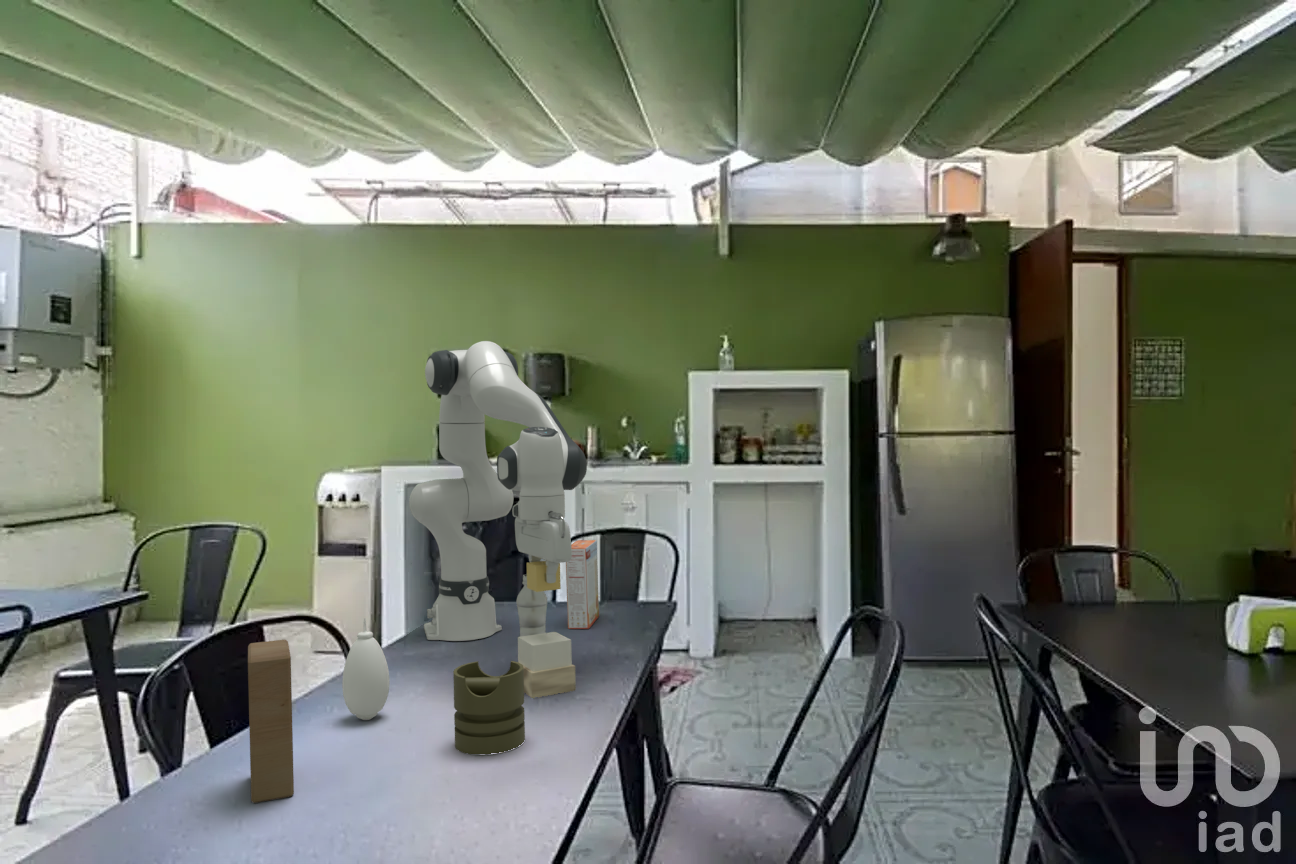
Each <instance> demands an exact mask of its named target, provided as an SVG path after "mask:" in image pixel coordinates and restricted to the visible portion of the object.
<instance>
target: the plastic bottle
mask: <svg viewBox="0 0 1296 864" xmlns="http://www.w3.org/2000/svg"><path fill="white" fill-rule="evenodd" d="M521 583H522V585H523V587H522V588H521V590H520V591H519V592H518V595H517V597H516V602H515V603H516V609H517V613H518V615H517V616H518V619H519V620H518V621H519V637H521V636H528V635H535V634H542V633H547V631H546V622H547V620H546V619H547V618H546V617H547V607H548V597H547V594H546V593H545V591H540V592H536V591H533V590H531V589H529V588H527V573H526V574H522V582H521Z"/></svg>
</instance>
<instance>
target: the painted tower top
mask: <svg viewBox="0 0 1296 864" xmlns="http://www.w3.org/2000/svg"><path fill="white" fill-rule="evenodd" d="M517 660H518V661H517V662H519V663H521V664H522V665H524V666H525V667H527V668H528V669H530V670H531V671H533V672H535V671H541V670H547V669H553V668H559V667H565V666H571V665H573V664H572V663H573V662H572V660H573V657H572V639H570V638H568V637H566V636H564V635H562V634H560V633H559V632H557V631H551V632H546V633H542V634H535V635H528V636H521V637H520V636H517Z"/></svg>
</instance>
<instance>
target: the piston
mask: <svg viewBox="0 0 1296 864" xmlns="http://www.w3.org/2000/svg"><path fill="white" fill-rule="evenodd" d="M509 666H510V667H509V669H508V670H507V672H505V673H504V674H500V675H498V676H497V675H495V676H494V675H490V674H488V673H487V672H484V671H483V670H482V669H481V667H480V664H479V661H472V662H468V663H467V662H466V663H465V664H464V663H463V664H461V665H458V666H457V667H455V668H454V670H453V674H452V675H453V678H452V679H453V709H455V710H456V711H455V712H454V715H453V716H454V719H453V722H454V747H455V749H456V750H457V751H458V750H459V751H458V752H460V751H461V752H460V753H463V754H466V753H468V754H467V755H471V754H491V753H499V752H504V751H508V750H511V749H513V748H516V747H518V746H519V745H521V744H522V743H523V742H524V740H525V741H526V727H525V723H526V722H525V716H526V715H525V707H524V706H523V705H524V703H525V693H524V668H523V665H522V664H521V663H518V661H514V660H510V665H509ZM524 743H525V742H524ZM524 743H523V744H524ZM523 744H522V745H523ZM522 745H521V746H522ZM518 748H519V747H518ZM516 749H517V748H516ZM511 751H512V750H511ZM508 752H509V751H508Z"/></svg>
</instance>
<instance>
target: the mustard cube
mask: <svg viewBox="0 0 1296 864" xmlns="http://www.w3.org/2000/svg"><path fill="white" fill-rule="evenodd" d="M546 569H547V565H546V560H540V561H538V562H530V561H529V562H526V574H527V588H529V589H531V590H533V591H536V592H540V591H544V592H546V591H547V592H548V591H556V590H561V588H562V587H561V585H562V584H561V563H559V566H558V569H557V572H556V582H555V583H547V582H545V576H544V573H546Z"/></svg>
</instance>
